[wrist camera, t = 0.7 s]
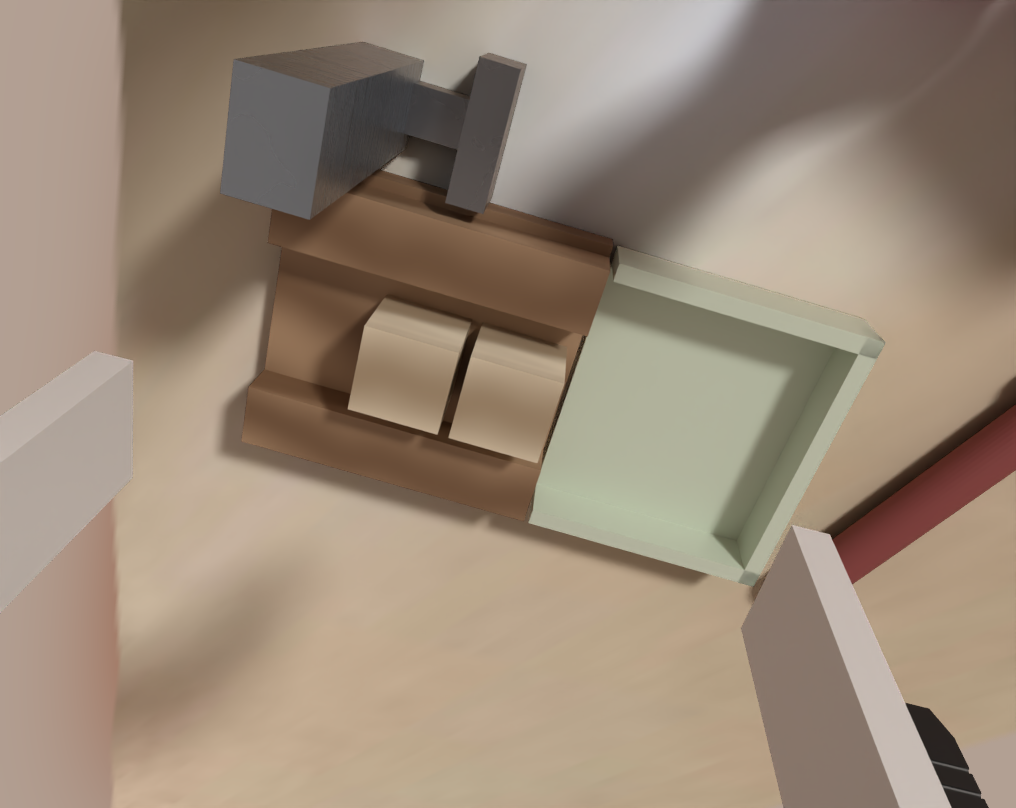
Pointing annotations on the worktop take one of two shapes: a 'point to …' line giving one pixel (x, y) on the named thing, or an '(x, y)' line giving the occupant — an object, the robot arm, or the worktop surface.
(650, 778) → the worktop surface
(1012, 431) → the rolling pin
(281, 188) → the t-shaped gray bracket
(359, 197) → the groove board
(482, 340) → the light wooden cube
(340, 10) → the worktop surface
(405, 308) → the beige cube
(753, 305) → the tray
